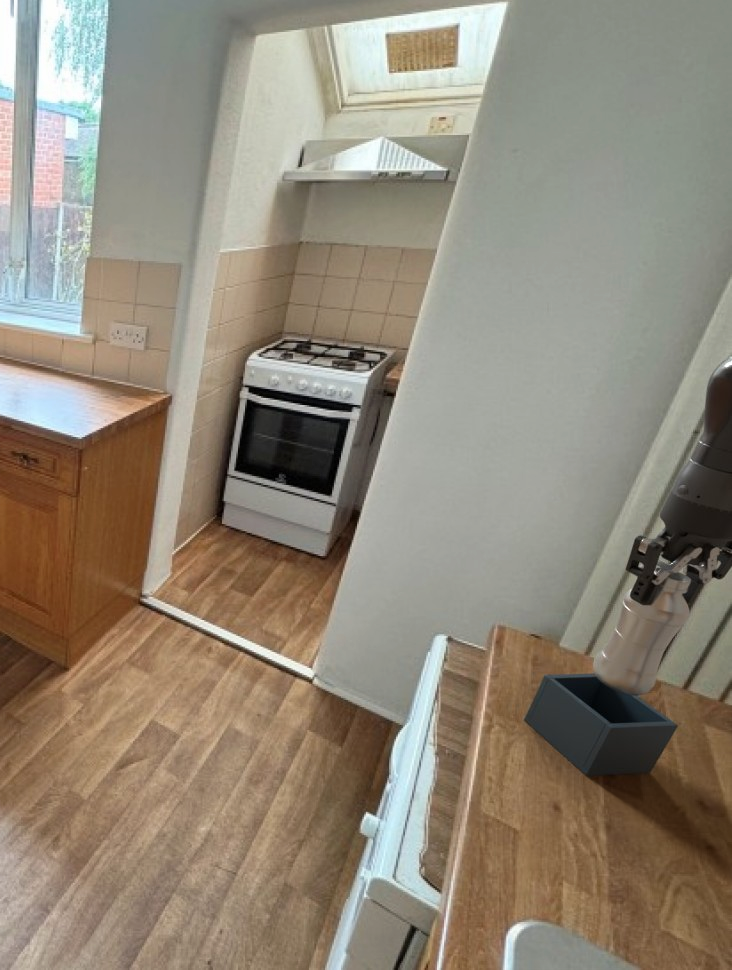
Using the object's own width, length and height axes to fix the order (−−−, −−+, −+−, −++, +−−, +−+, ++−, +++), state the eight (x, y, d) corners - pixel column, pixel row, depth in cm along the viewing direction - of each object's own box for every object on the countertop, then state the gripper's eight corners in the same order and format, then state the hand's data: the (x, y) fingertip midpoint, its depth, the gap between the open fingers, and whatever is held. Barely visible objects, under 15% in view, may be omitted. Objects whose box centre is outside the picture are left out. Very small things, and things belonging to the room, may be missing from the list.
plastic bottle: (611, 699, 89) (669, 586, 82) (575, 666, 95) (626, 559, 88) (660, 704, 88) (722, 591, 81) (621, 671, 94) (675, 563, 87)
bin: (650, 773, 92) (678, 725, 88) (585, 776, 91) (611, 728, 88) (582, 717, 102) (605, 672, 98) (523, 720, 101) (544, 674, 97)
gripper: (696, 511, 76) (641, 619, 82) (800, 509, 77) (738, 617, 83) (633, 485, 83) (587, 587, 89) (728, 484, 84) (676, 584, 90)
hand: (660, 601), depth 86 cm, fingers closed on plastic bottle, 5 cm apart
